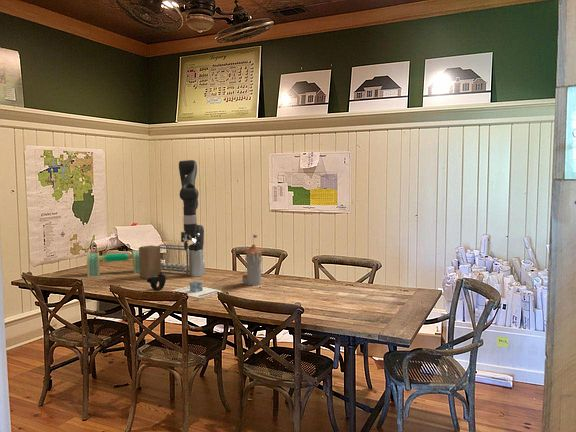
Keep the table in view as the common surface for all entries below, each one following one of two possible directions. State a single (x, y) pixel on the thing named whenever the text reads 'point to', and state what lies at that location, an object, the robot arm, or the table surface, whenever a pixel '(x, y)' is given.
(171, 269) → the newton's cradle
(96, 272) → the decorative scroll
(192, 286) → the cube
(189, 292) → the letter
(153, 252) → the block
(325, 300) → the table surface
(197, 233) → the robot arm
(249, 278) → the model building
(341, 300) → the table surface
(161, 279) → the controller
